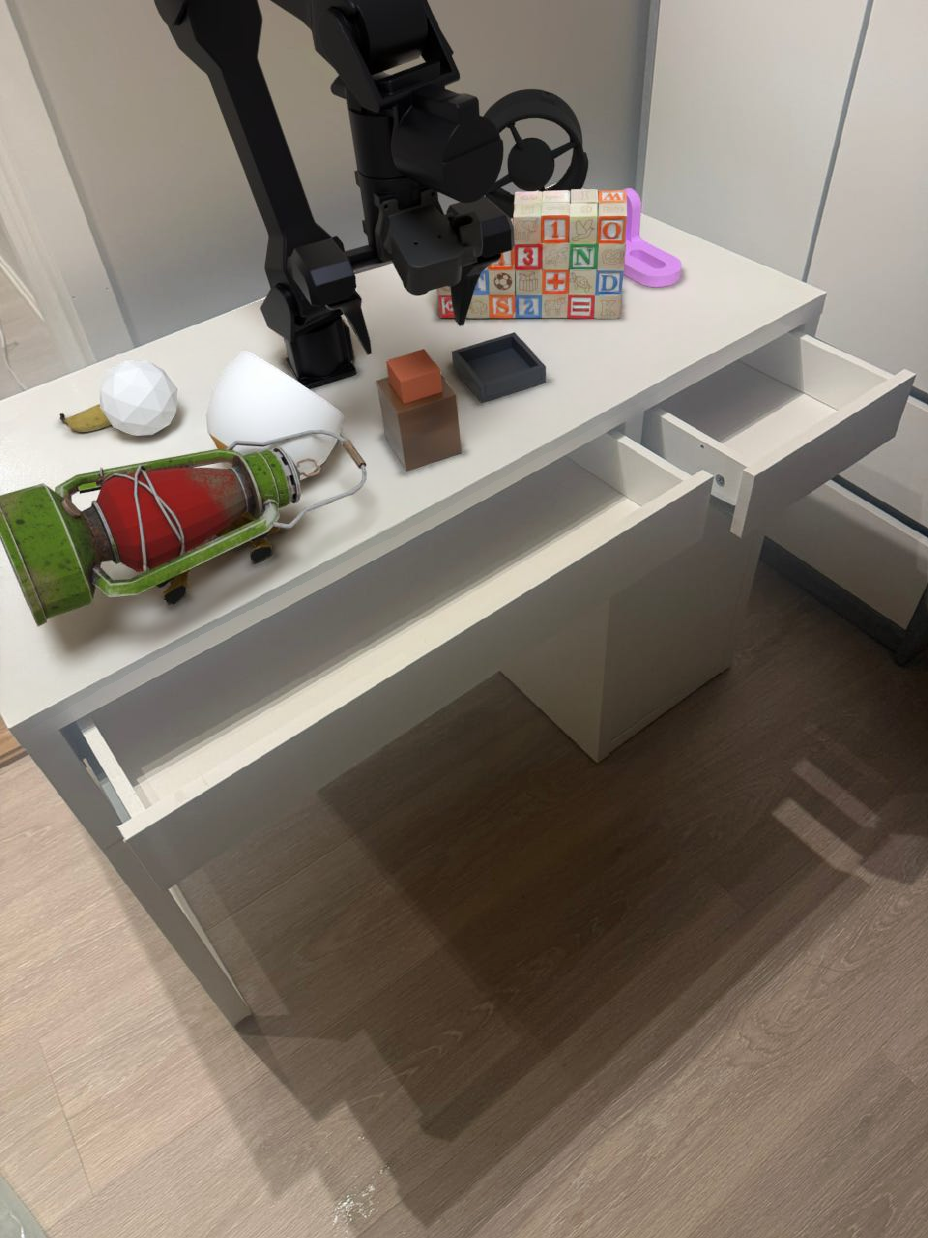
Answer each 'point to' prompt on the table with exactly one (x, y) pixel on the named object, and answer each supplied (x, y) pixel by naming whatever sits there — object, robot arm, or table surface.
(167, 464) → the lantern
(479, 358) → the dark gray square tray
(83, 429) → the banana
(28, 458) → the table surface
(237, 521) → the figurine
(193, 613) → the table surface
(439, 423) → the brown wooden cube
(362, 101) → the robot arm
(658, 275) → the bracket
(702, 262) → the table surface
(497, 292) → the stack of blocks
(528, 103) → the black spoked wheel
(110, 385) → the geometric ball
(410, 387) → the orange square block
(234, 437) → the cup
